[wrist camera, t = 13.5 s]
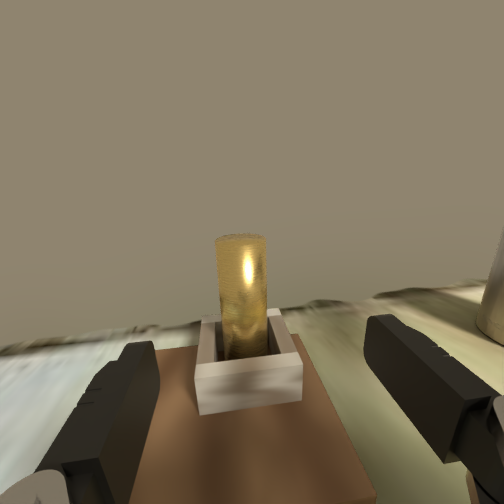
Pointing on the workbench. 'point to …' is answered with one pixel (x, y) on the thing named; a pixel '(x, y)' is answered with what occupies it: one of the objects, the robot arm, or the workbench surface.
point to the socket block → (246, 429)
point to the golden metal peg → (242, 294)
